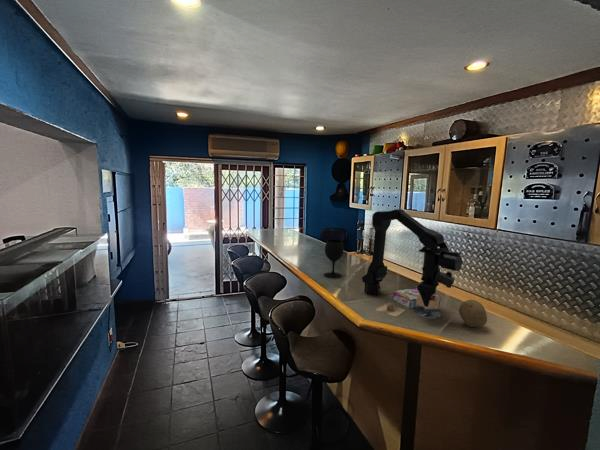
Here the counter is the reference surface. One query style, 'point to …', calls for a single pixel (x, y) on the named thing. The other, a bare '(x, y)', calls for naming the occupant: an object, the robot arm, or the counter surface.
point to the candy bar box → (408, 297)
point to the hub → (427, 312)
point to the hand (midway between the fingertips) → (427, 303)
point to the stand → (390, 309)
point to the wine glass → (333, 255)
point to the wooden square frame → (432, 303)
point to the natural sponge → (473, 313)
